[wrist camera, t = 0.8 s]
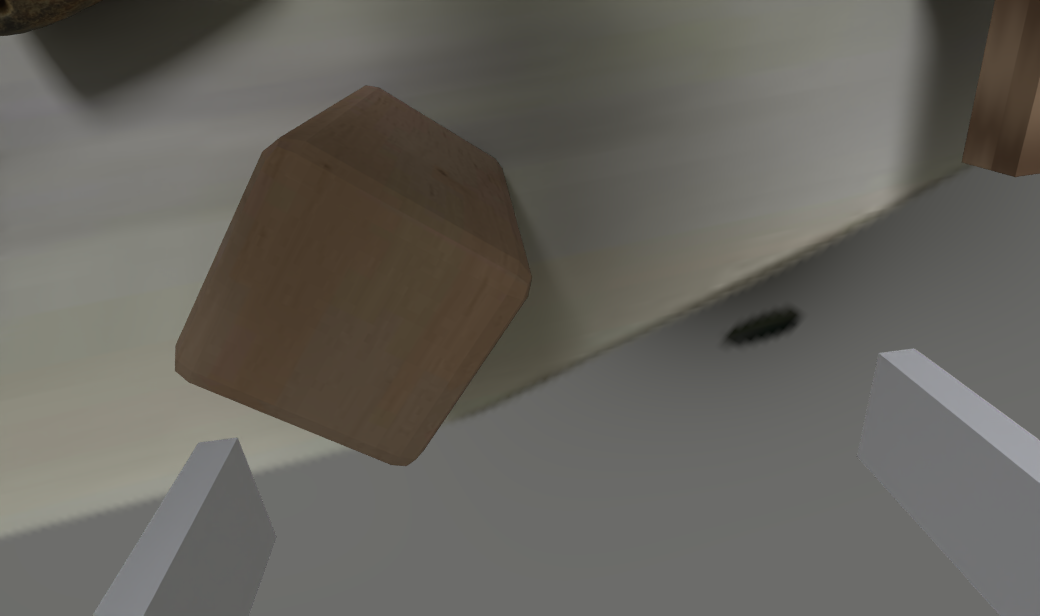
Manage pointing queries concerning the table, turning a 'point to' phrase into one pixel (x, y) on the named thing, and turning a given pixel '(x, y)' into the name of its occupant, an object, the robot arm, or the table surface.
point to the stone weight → (36, 13)
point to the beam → (1008, 93)
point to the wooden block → (360, 279)
